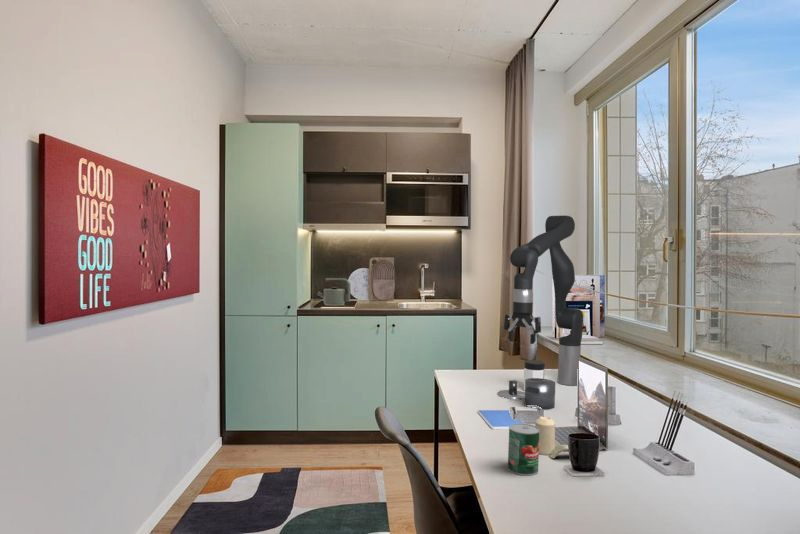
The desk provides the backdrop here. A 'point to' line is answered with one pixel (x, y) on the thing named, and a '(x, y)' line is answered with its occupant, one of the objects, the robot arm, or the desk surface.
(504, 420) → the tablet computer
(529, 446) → the canned tomato
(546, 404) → the pot
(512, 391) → the lid
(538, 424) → the candle
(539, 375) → the jar
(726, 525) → the desk surface
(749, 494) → the desk surface
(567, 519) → the desk surface
